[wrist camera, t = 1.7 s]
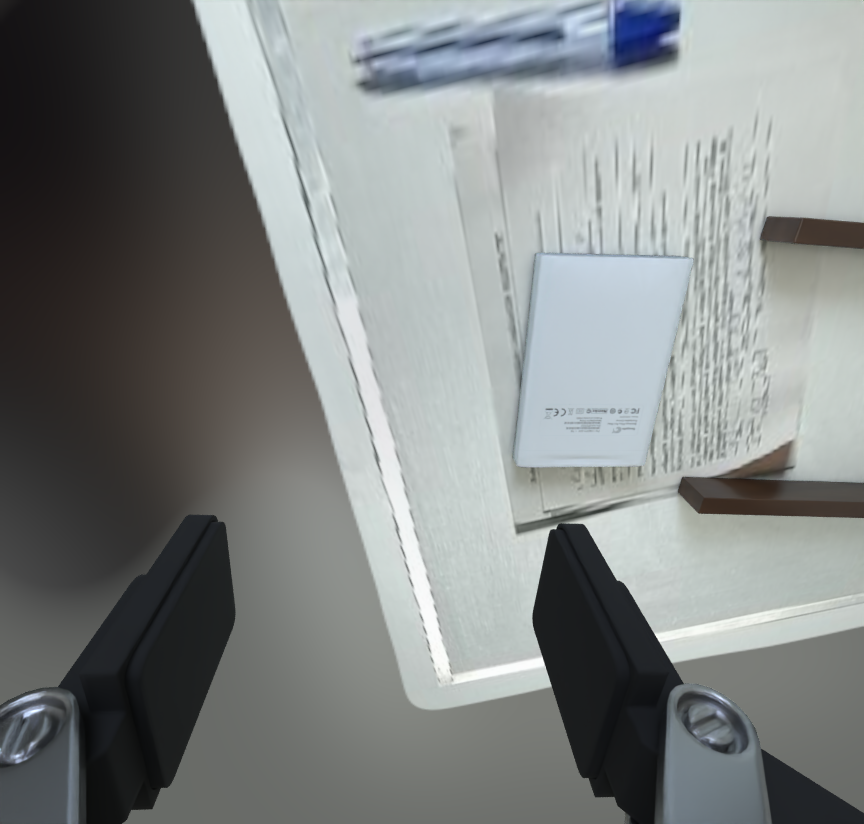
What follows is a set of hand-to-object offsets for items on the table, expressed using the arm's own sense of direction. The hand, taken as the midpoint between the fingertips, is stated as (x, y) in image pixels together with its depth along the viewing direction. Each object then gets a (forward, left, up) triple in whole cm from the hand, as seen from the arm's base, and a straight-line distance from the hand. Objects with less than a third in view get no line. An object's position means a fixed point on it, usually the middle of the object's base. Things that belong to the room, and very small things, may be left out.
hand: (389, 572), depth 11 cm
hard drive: (0, +12, -18) cm, 21 cm away
